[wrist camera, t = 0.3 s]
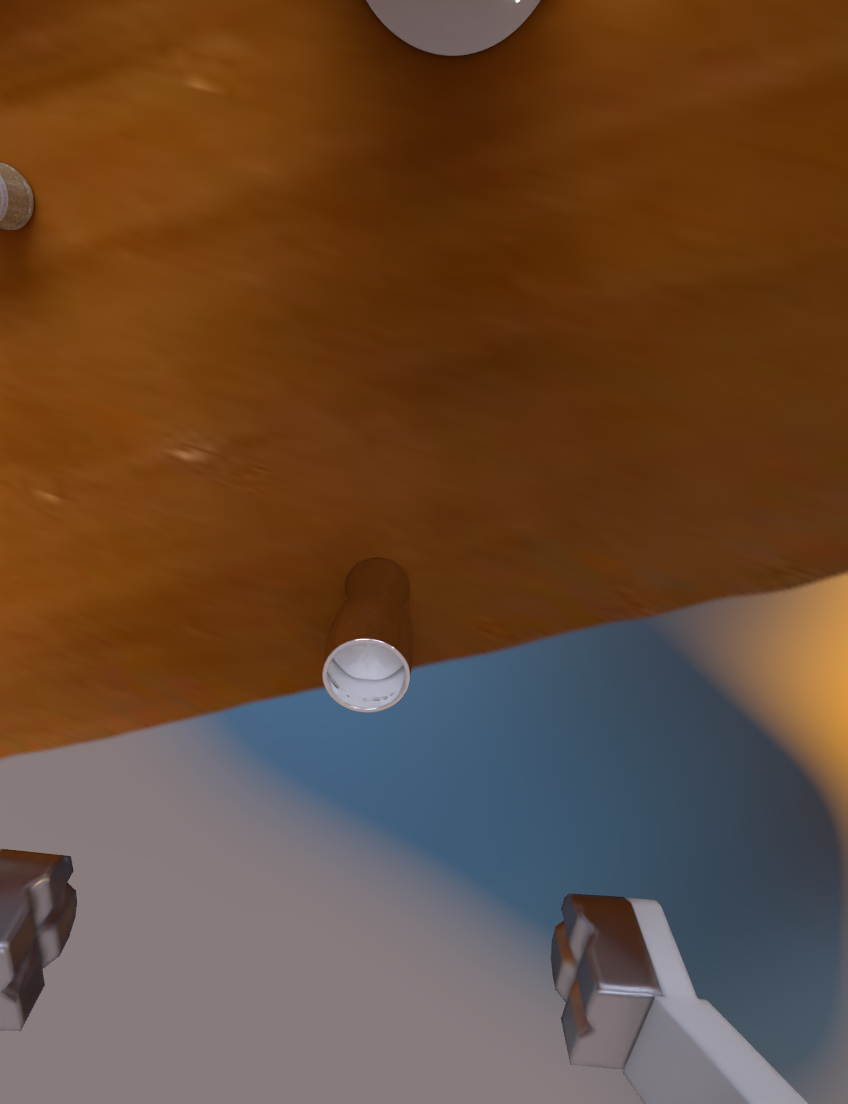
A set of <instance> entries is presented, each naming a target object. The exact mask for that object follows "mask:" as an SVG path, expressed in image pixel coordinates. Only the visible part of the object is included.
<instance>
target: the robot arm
mask: <svg viewBox="0 0 848 1104" xmlns="http://www.w3.org/2000/svg"><path fill="white" fill-rule="evenodd" d="M366 1H367V3H368V5H369V6H370V8H371V9H372V11H373V12H374V13H375V15H376V16H377V17H378V18H379V19H380V21H381V22H382V23H383V24H384V25H385V26H386V27H387V28H388V29H389V30H390V31H391V32H392V33H394V34H395V35H396V36H397V37H399V38H400V39H402V40H403V41H405V42H406V43H408V44H410V45H412V46H414V47H416V48H418V49H420V50H423V51H426V52H429V53H433V54H438V55H445V56H459V55H467V54H472V53H476V52H479V51H482V50H485V49H487V48H489V47H492V46H493V45H495V44H497V43H499V42H500V41H502V40H504V39H505V38H507V37H508V36H509V35H510V34H512V33H513V32H514V31H515V30H516V29H517V28H518V27H520V25H521V24H522V23H523V22H524V21H525V20H526V19H527V18H528V17H529V16H530V14H531V13H532V12H533V10H534V9H535V8H536V6H537V5H538V4H539V2H540V1H541V0H366ZM72 873H73V866H72V861H71V856H64V855H54V854H45V853H36V852H26V851H16V850H8V849H0V1031H21V1030H22V1028H23V1026H24V1024H25V1022H26V1020H27V1018H28V1016H29V1014H30V1012H31V1011H32V1008H33V1007H34V1005H35V1003H36V1001H37V999H38V997H39V995H40V993H41V991H42V989H43V987H44V986H45V984H44V977H43V970H42V969H43V968H45V967H46V966H47V965H48V964H50V963H51V962H52V961H54V960H55V959H56V958H58V957H59V956H60V954H61V952H62V950H63V948H64V946H65V944H66V942H67V940H68V938H69V936H70V932H71V929H72V926H73V923H74V919H75V916H76V907H77V897H76V890H74V889H73V888H72V887H71V886H70V885H69V884H68V883H67V882H68V880H69V878H70V876H71V874H72ZM561 910H562V914H563V919H564V921H563V922H561V923H560V924H558V925H557V926H556V927H555V931H554V935H553V938H552V948H551V965H552V975H553V980H554V986H555V990H556V991H557V992H558V994H559V995H560V996H561V997H562V998H563V1000H564V1001H565V1002H566V1005H565V1008H564V1011H563V1014H562V1017H561V1021H562V1026H563V1031H564V1036H565V1041H566V1045H567V1051H568V1056H569V1060H570V1064H571V1065H581V1066H591V1067H602V1068H613V1069H624V1071H623V1074H624V1075H625V1076H626V1078H627V1080H628V1081H629V1083H630V1084H631V1085H632V1087H633V1088H634V1090H635V1091H636V1093H637V1094H638V1096H639V1097H640V1099H641V1100H642V1102H643V1103H644V1104H808V1103H807V1102H806V1101H805V1100H804V1099H803V1098H802V1097H801V1096H800V1095H799V1094H798V1093H797V1092H796V1091H795V1090H794V1089H793V1088H792V1087H791V1086H790V1085H789V1084H788V1083H787V1082H786V1081H785V1080H784V1079H783V1078H782V1076H780V1074H779V1073H778V1072H777V1071H776V1070H775V1069H774V1068H773V1067H772V1066H771V1065H770V1064H769V1063H768V1062H767V1061H766V1060H765V1059H764V1058H763V1057H762V1056H761V1055H760V1054H759V1053H758V1052H757V1051H756V1050H755V1049H754V1048H753V1047H752V1046H751V1045H750V1044H749V1043H748V1042H747V1041H746V1040H745V1039H744V1038H743V1037H742V1036H741V1034H740V1033H738V1031H737V1030H735V1028H734V1027H733V1026H732V1025H731V1024H730V1023H729V1022H728V1021H727V1020H726V1019H725V1018H724V1017H723V1016H722V1015H721V1014H720V1013H719V1012H718V1011H717V1010H716V1009H715V1008H714V1007H713V1006H712V1005H711V1004H710V1003H709V1002H708V1001H707V1000H703V999H698V998H697V996H696V993H695V991H694V988H693V986H692V983H691V981H690V978H689V976H688V973H687V971H686V968H685V965H684V963H683V960H682V958H681V955H680V953H679V950H678V948H677V945H676V943H675V940H674V938H673V935H672V933H671V930H670V928H669V925H668V923H667V920H666V918H665V915H664V912H663V910H662V907H661V906H660V905H659V903H658V902H657V901H655V900H646V899H633V898H624V897H615V896H599V895H582V894H568V895H567V896H566V897H565V898H564V901H563V904H562V908H561Z"/></svg>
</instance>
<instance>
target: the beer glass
mask: <svg viewBox="0 0 848 1104" xmlns="http://www.w3.org/2000/svg"><path fill="white" fill-rule="evenodd" d="M345 591H346V597H347V599H346V600H345V602H344V603H343V605H342V607H341V608H340V610H339V611H338V613H337V615H336V617H335V619H334V621H333V623H332V625H331V627H330V631H329V634H328V637H327V642H326V648H325V656H324V666H323V672H322V677H323V683H324V686H325V688H326V690H327V692H328V693H329V694H330V696H331V697H332V698H333V699H334V700H335V701H336V702H337V703H339V704H340V705H342V706H344V707H346V708H348V709H350V710H354V711H358V712H377V711H381V710H384V709H387V708H389V707H391V706H393V705H394V704H396V703H397V702H398V701H399V700H400V699H401V698H402V697H403V696H404V695H405V693H406V691H407V689H408V687H409V683H410V674H411V668H412V661H413V633H412V628H411V624H410V620H409V617H408V614H407V611H406V608H405V603H406V600H407V598H408V594H409V582H408V578H407V576H406V574H405V572H404V571H403V570H402V569H401V568H400V567H399V566H398V565H397V564H395V563H393V562H392V561H389V560H386V559H381V558H373V559H368V560H364V561H362V562H360V563H359V564H357V565H356V566H355V567H354V568H353V569H352V570H351V571H350V573H349V575H348V577H347V579H346V584H345Z"/></svg>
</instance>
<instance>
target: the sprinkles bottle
mask: <svg viewBox="0 0 848 1104" xmlns="http://www.w3.org/2000/svg"><path fill="white" fill-rule="evenodd" d="M33 204H34V200H33V194H32V189H31V188H30V186H29V184H28V182H27V181H26V180H25V178H24V177H23V176H22V175H21V174H20V173H19V172H18V171H17V170H16V169H14V168H13V167H11V166H9V165H7V164H5V163H1V162H0V228H1V229H5V230H16V229H19V228H21V227H23V226H24V225H26V223H27V222H28V221H29V220H30V218H31V216H32V214H33V210H34V205H33Z"/></svg>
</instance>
